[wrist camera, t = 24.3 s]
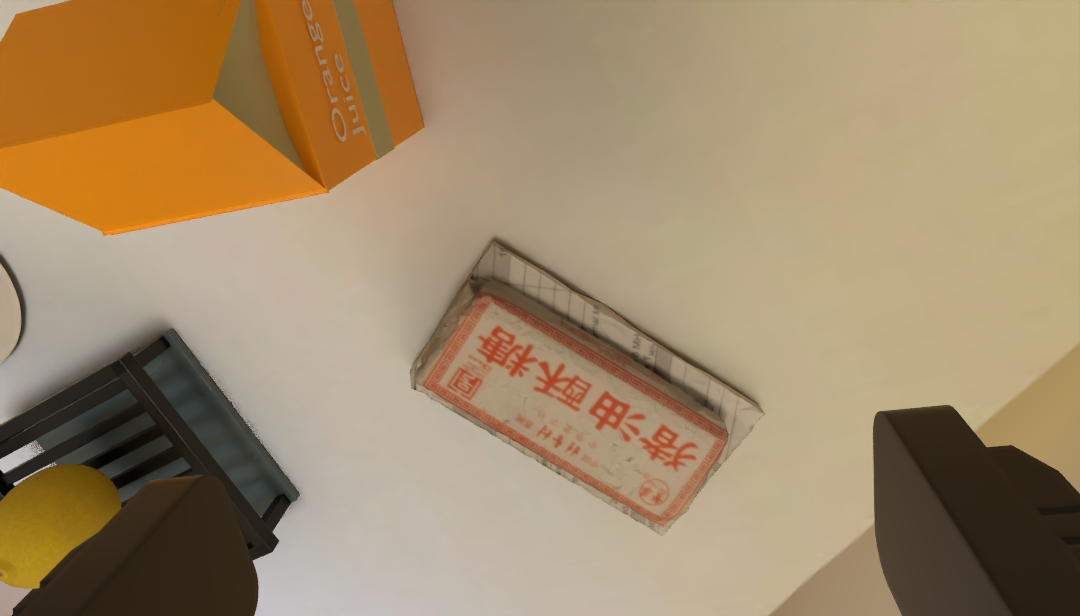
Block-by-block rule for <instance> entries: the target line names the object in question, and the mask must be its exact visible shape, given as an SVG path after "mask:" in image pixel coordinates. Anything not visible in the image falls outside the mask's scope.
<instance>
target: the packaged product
mask: <svg viewBox="0 0 1080 616" xmlns="http://www.w3.org/2000/svg"><path fill="white" fill-rule="evenodd" d="M410 375H411V386H412V389H414V390H417V391H420V392H423V393H425V394H426V395H427V396H428V397H429V398H430V399H432V400H435V401H437V402H439V403H441V404H442V405H444V406H445V407H447V408H448V409H450V410H451V411H453V412H455V413H457V414H458V415H460V416H462V417H463V418H465V419H467V420H469V421H470V422H472V423H474V424H475V425H477V426H479V427H480V428H482V429H484V430H486V431H488V432H489V433H490V434H491V435H493V436H496V437H498V438H499V439H501V440H502V441H504V442H506V443H507V444H509V445H511V446H513V447H514V448H516V449H517V450H518V451H520V452H521V453H523V454H525V455H527V456H529V457H531V458H534V459H535V460H536V461H538V462H539V463H541V464H542V465H544V466H545V467H547V468H549V469H551V470H553V471H554V472H556V473H557V474H559V475H561V476H563V477H565V478H566V479H568V480H569V481H571V482H572V483H574V484H576V485H579V486H581V487H583V488H584V489H585V490H587V491H588V492H590V493H591V494H592V495H594V496H596V497H597V498H599V499H601V500H602V501H604V502H606V503H607V504H609V505H611V506H613V507H614V508H616V509H618V510H619V511H621V512H622V513H624V514H626V515H628V516H630V517H631V518H633V519H634V520H636V521H637V522H640V523H642V524H644V525H645V526H647V527H649V528H650V529H652V530H653V531H655V532H656V533H658V534H659V535H664V534H665V532H666V531H667V530H668V529H669V528H670V527H671V526H672V524H673V523H674V522H675V521H676V520H677V519H678V518H679V517H680V516H681V515H683V514H684V513H686V512H687V511H688V509H689V506H690V504H691V503H692V501H693V500H694V498H695V497H696V496H697V494H698V493H699V492H700V491H701V489H702V488H703V487H704V485H705V484H706V483H707V481H708V480H709V479H710V478H711V477H712V475H713V474H714V473H715V472H716V471H717V470H718V469H719V468H720V467H721V465H722V464H723V463H724V462H725V461H726V459H727V458H728V457H729V456H730V455H731V454H732V453H733V452H734V450H735V449H736V448H737V447H738V446H739V445H740V443H741V442H742V441H743V440H744V439H745V437H746V436H747V435H748V434H749V433H750V432H751V431H752V429H753V427H754V424H755V423H756V422H757V421H758V420H759V419H760V418H761V417H762V416H763V415H765V413H764V412H763V410H762V409H761V407H760V406H759V405H757V404H756V403H754V402H752V401H751V400H749V399H748V398H746V397H744V396H743V395H741V394H740V393H738V392H736V391H735V390H733V389H732V388H730V387H729V386H727V385H725V384H724V383H722V382H721V381H719V380H717V379H716V378H714V377H713V376H711V375H709V374H708V373H706V372H704V371H702V370H700V369H698V368H696V367H694V366H692V365H691V364H689V363H687V362H686V361H684V360H683V359H681V358H679V357H678V356H676V355H675V354H673V353H672V352H670V351H669V350H667V349H666V348H664V347H663V346H661V345H660V344H658V343H657V342H655V341H654V340H652V339H651V338H649V337H648V336H646V335H645V334H643V333H642V332H640V331H639V330H637V329H636V328H634V327H633V326H631V325H630V324H629V323H627V322H626V321H625V320H623V319H622V318H621V317H620V316H618V315H617V314H616V313H614V312H613V311H612V310H610V309H609V308H608V307H606V306H605V305H604V304H602V303H599V302H597V301H595V300H593V299H590V298H588V297H586V296H583V295H581V294H579V293H577V292H574V291H572V290H571V289H569V288H568V287H566V286H565V285H564V284H562V283H561V282H559V281H558V280H556V279H555V278H554V277H552V276H551V275H549V274H548V273H546V272H545V271H543V270H541V269H539V268H538V267H536V266H534V265H533V264H531V263H529V262H527V261H526V260H524V259H522V258H520V257H519V256H517V255H515V254H514V253H512V252H510V251H508V250H507V249H505V248H503V247H501V246H500V245H498V244H496V243H495V242H494V241H492V242H491V244H490V245H489V247H488V248H487V250H486V251H485V253H484V254H483V256H482V257H481V259H480V260H479V262H478V263H477V265H476V266H475V268H474V269H473V271H472V272H471V274H470V275H469V277H468V279H467V280H466V282H465V283H464V285H463V286H462V288H461V289H460V291H459V292H458V294H457V296H456V297H455V299H454V301H453V302H452V304H451V306H450V307H449V309H448V311H447V313H446V314H445V316H444V318H443V319H442V321H441V323H440V324H439V326H438V328H437V329H436V331H435V333H434V334H433V336H432V338H431V340H430V341H429V343H428V344H427V346H426V347H425V349H424V350H423V352H422V353H421V355H420V356H419V358H418V359H417V361H416V362H415V363H414V365H413V366H412V368H411V369H410Z"/></svg>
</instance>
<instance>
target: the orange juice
mask: <svg viewBox="0 0 1080 616" xmlns="http://www.w3.org/2000/svg"><path fill="white" fill-rule="evenodd" d="M422 128H424V124H423V120H422V116H421V112H420V108H419V105H418V101H417V97H416V93H415V89H414V85H413V81H412V77H411V74H410V70H409V66H408V62H407V58H406V54H405V50H404V46H403V43H402V39H401V35H400V31H399V27H398V23H397V19H396V15H395V12H394V8H393V4H392V0H70V1H67V2H63V3H59V4H55V5H51V6H47V7H43V8H39V9H35V10H31V11H27V12H23V13H19V14H16V15H15V17H14V19H13V21H12V23H11V24H10V26H9V28H8V30H7V32H6V33H5V35H4V37H3V39H2V41H1V42H0V188H2V189H5V190H7V191H9V192H12V193H14V194H16V195H19V196H21V197H23V198H26V199H28V200H30V201H33V202H35V203H37V204H40V205H42V206H44V207H47V208H49V209H51V210H54V211H56V212H58V213H61V214H63V215H65V216H68V217H70V218H72V219H75V220H77V221H79V222H82V223H84V224H86V225H89V226H91V227H93V228H96V229H98V230H100V231H102V233H103V235H114V234H120V233H125V232H130V231H135V230H140V229H145V228H150V227H155V226H160V225H165V224H171V223H176V222H181V221H186V220H191V219H196V218H201V217H206V216H211V215H216V214H221V213H227V212H232V211H237V210H242V209H247V208H252V207H257V206H262V205H267V204H272V203H277V202H283V201H288V200H293V199H298V198H303V197H308V196H313V195H318V194H323V193H328V192H329V190H330V189H332V188H333V187H335V186H336V185H338V184H339V183H341V182H342V181H344V180H345V179H347V178H348V177H350V176H351V175H353V174H354V173H356V172H357V171H359V170H361V169H362V168H364V167H365V166H367V165H368V164H370V163H371V162H373V161H374V160H377V159H379V158H381V157H382V156H384V155H385V154H387V153H388V152H390V151H391V150H393V149H394V147H395V146H397V145H398V144H400V143H401V142H403V141H404V140H406V139H407V138H409V137H410V136H412V135H413V134H415V133H416V132H418V131H419V130H421V129H422Z"/></svg>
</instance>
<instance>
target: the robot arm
mask: <svg viewBox="0 0 1080 616" xmlns="http://www.w3.org/2000/svg"><path fill="white" fill-rule="evenodd" d="M873 454H874V512H875V535H876V542H877V548H878V553H879V558H880V562H881V565H882V569H883V573H884V576H885V579H886V581H887V584H888V586H889V588H890V590H891V593H892V595H893V597H894V599H895V601H896V604H897V605H898V608H899V610H900V612H901V614H902V616H1080V494H1079V492H1078V491H1077V490H1076V489H1075V488H1074V487H1073V486H1072V485H1071V484H1070V483H1069V482H1068V481H1067V480H1066V479H1065V477H1064V476H1063V475H1062V474H1061V473H1060V472H1059V471H1057V470H1056V469H1054V468H1052V467H1050V466H1048V465H1047V464H1045V463H1043V462H1041V461H1039V460H1038V459H1036V458H1034V457H1032V456H1030V455H1028V454H1027V453H1025V452H1023V451H1021V450H1019V449H1017V448H1016V447H1014V446H1012V445H1009V446H998V447H986V446H985V445H984V444H983V443H982V441H981V440H980V439H979V438H978V436H977V435H976V434H975V433H974V432H973V430H972V429H971V428H970V427H969V425H968V424H967V423H966V422H965V421H964V419H963V418H962V417H961V416H960V415H959V413H958V412H957V411H956V410H955V409H954V408H953V407H952V406H950V405H942V406H931V407H921V408H910V409H900V410H890V411H880V412H877V414H876V416H875V419H874V425H873ZM39 583H40V587H39V588H37V589H32V590H31V591H30V592H29V593H28V594H27V595H26V596H25V597H24V599H22V600H21V602H19V603H18V604H17V606H16V607H14V608H13V615H12V616H254V614H255V611H256V607H257V602H258V578H257V573H256V570H255V567H254V564H253V561H252V558H251V556H250V553H249V550H248V547H247V545H246V542H245V539H244V536H243V534H242V531H241V528H240V525H239V523H238V520H237V517H236V515H235V512H234V509H233V506H232V504H231V501H230V498H229V495H228V493H227V490H226V488H225V486H224V484H223V483H222V482H221V480H220V479H219V478H217V477H216V476H214V475H210V474H206V475H195V476H185V477H175V478H164V479H155V480H152V481H150V482H148V483H146V484H145V485H144V486H143V487H142V488H141V489H140V490H139V491H138V492H137V493H136V494H135V495H134V496H133V497H132V498H131V499H130V500H129V501H128V502H127V503H126V504H125V505H124V506H123V507H122V508H121V510H120V511H119V512H118V513H117V514H116V515H115V516H114V517H113V518H112V519H111V520H110V521H109V522H108V523H107V524H106V525H105V526H104V527H103V528H102V529H101V530H100V531H99V532H98V533H96V534H95V535H93V536H92V537H90V538H89V539H87V540H86V541H84V542H83V543H81V544H80V545H78V546H77V547H76V548H74V549H73V550H71V551H70V552H69V553H68V554H67V555H66V556H65V557H64V558H63V559H62V560H61V561H60V562H59V563H58V564H57V565H56V566H55V567H54V568H53V569H52V570H51V571H50V572H49V573H48V574H47V575H46V576H45V577H44V578H43V579H42V580H41V581H40V582H39Z"/></svg>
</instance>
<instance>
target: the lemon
mask: <svg viewBox="0 0 1080 616" xmlns="http://www.w3.org/2000/svg"><path fill="white" fill-rule="evenodd" d="M120 510H121V499H120V496H119V493H118V490H117V488H116V487H115V485H114V484H113V482H112V481H111V480H110V479H109V478H108V477H107V476H106V475H105V474H103V473H102V472H100V471H98V470H96V469H94V468H92V467H88V466H84V465H79V464H63V465H58V466H53V467H49V468H46V469H44V470H41V471H39V472H37V473H35V474H34V475H32V476H30V477H28V478H26V479H25V480H23V481H22V482H20V483H19V484H17V485H16V486H15V487H14V488H13V489H12V490H11V491H10V492H9V493H8V494H7V495H6V496H5V497H4V498H3V499H2V500H1V501H0V581H2V582H4V583H6V584H8V585H11V586H14V587H19V588H25V589H37V588H39V587H40V583H39V582H40V581H41V580H42V579H43V578H44V577H45V576H46V575H47V574H48V573H49V572H50V571H51V570H52V569H53V568H54V567H55V566H56V565H57V564H58V563H59V562H60V561H61V560H62V559H63V558H64V557H65V556H66V555H67V554H68V553H69V552H70V551H71V550H73V549H74V548H76V547H77V546H78V545H80V544H81V543H83V542H84V541H86V540H87V539H89V538H90V537H92V536H93V535H95V534H96V533H98V532H99V531H100V530H101V529H102V528H103V527H104V526H105V525H106V524H107V523H108V522H109V521H110V520H111V519H112V518H113V517H114V516H115V515H116V514H117V513H118V512H119V511H120Z"/></svg>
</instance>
